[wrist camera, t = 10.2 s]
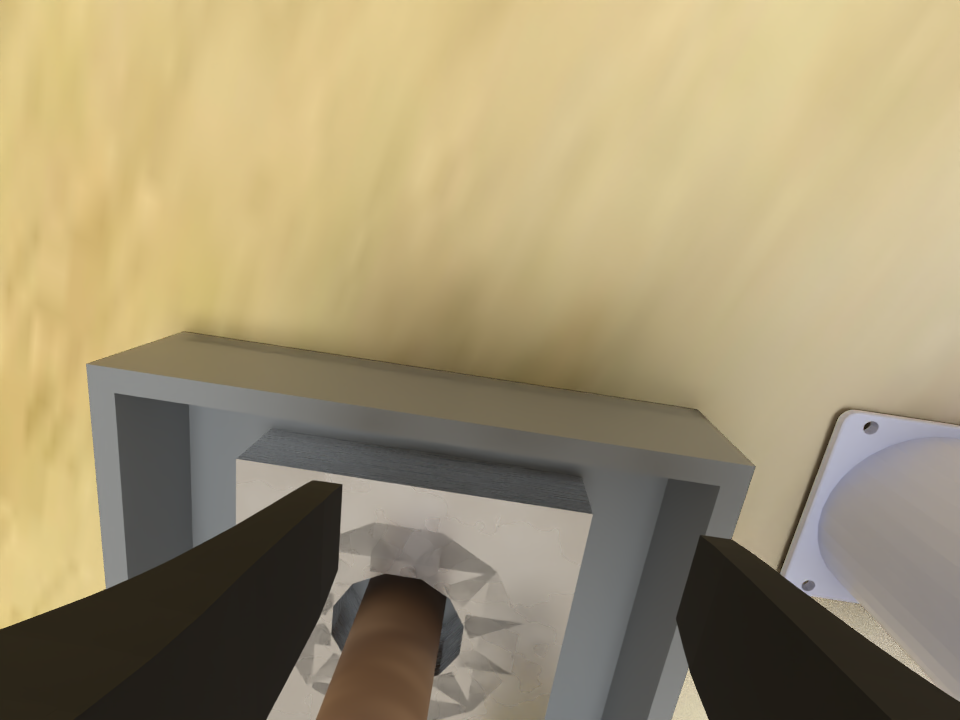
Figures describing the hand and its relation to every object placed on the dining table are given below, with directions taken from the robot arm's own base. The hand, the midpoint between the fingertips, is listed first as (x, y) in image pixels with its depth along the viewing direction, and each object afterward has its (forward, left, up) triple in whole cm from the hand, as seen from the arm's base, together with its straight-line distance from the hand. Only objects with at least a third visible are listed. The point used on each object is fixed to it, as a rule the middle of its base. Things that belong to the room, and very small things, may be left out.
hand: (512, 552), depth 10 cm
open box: (+3, +8, -9) cm, 13 cm away
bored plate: (+3, +8, -9) cm, 13 cm away
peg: (+3, +8, -8) cm, 12 cm away
